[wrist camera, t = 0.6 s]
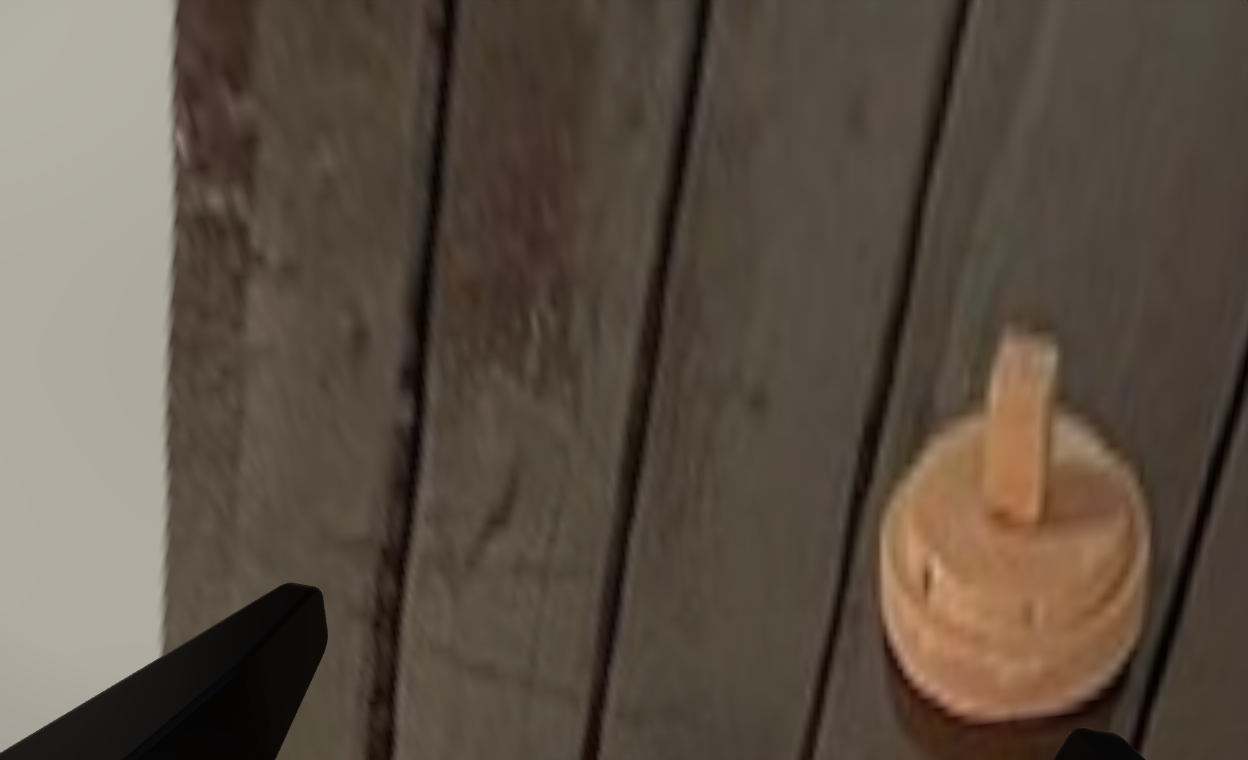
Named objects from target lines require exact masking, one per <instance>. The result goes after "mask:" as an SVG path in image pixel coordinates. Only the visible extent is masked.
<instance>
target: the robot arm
mask: <svg viewBox="0 0 1248 760" xmlns="http://www.w3.org/2000/svg"><path fill="white" fill-rule="evenodd" d="M327 639H328V631H327V623H326V615H325V608H324V600H323V595H322V592H321V591H320V590H319V588H317V587H314V586H308V585H303V584H297V583H286V584H283V585H281V586H279V587H277V588H276V589H274V590H272V591H271V592H269V593H267V594H266V595H264V596H262V597H260V598H259V599H257V600H255V601H254V602H252V603H250V604H249V605H247V606H245V607H244V608H242V609H240V610H239V611H237V612H235V613H234V614H232V615H230V616H229V617H227V618H225V619H224V620H222V621H220V622H219V623H217V624H215V625H214V626H212V627H210V628H209V629H207V630H205V631H204V632H202V633H200V634H199V635H197V636H195V637H193V638H192V639H190V640H188V641H187V642H185V643H183V644H182V645H180V646H178V647H177V648H175V649H173V650H172V651H170V652H168V653H167V654H165V655H163V656H162V657H160V658H158V659H157V660H155V661H153V662H152V663H150V664H148V665H147V666H145V667H143V668H142V669H140V670H138V671H137V672H135V673H133V674H132V675H130V676H128V677H127V678H125V679H123V680H121V681H120V682H118V683H116V684H115V685H113V686H111V687H110V688H108V689H107V690H105V691H103V692H101V693H100V694H98V695H96V696H95V697H93V698H91V699H90V700H88V701H86V702H85V703H83V704H81V705H80V706H78V707H76V708H75V709H73V710H72V711H70V712H68V713H66V714H65V715H63V716H61V717H59V718H58V719H56V720H54V721H53V722H51V723H49V724H48V725H46V726H44V727H43V728H41V729H39V730H38V731H36V732H34V733H33V734H31V735H29V736H28V737H26V738H24V739H23V740H21V741H19V742H18V743H16V744H14V745H13V746H11V747H9V748H8V749H6V750H4V751H3V752H1V753H0V760H275V759H276V757H277V755H278V753H279V751H280V748H281V746H282V744H283V742H284V740H285V737H286V735H287V733H288V731H289V729H290V726H291V724H292V722H293V720H294V718H295V716H296V713H297V711H298V709H299V707H300V705H301V702H302V700H303V698H304V696H305V694H306V692H307V689H308V687H309V685H310V683H311V681H312V678H313V676H314V674H315V672H316V670H317V668H318V665H319V663H320V661H321V659H322V657H323V654H324V652H325V649H326V645H327ZM1053 760H1145V759H1144V758H1143V757H1142V756H1141V755H1140V754H1139V753H1138V752H1137V751H1136V750H1135V749H1134V748H1133V747H1131V746H1130V745H1129V744H1128V743H1127V742H1126V741H1125V740H1124V739H1123V738H1121V737H1120V736H1118V735H1116V734H1114V733H1112V732H1108V731H1103V730H1097V729H1092V728H1086V727H1078V728H1076V729H1074V730H1072V731H1071V732H1070V734H1069V735H1068V737H1067V738H1066V740H1065V742H1064V743H1063V745H1062V746H1061V748H1060V750H1059V751H1058V753H1057V754H1056V756H1055V757H1054V759H1053Z"/></svg>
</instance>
